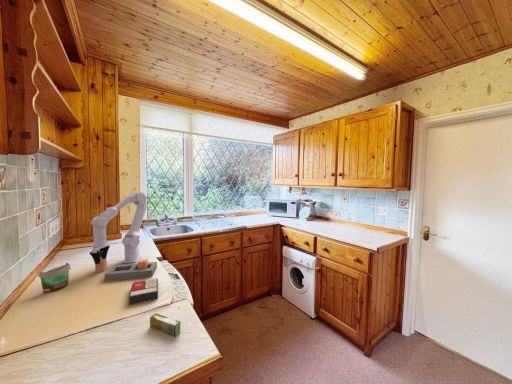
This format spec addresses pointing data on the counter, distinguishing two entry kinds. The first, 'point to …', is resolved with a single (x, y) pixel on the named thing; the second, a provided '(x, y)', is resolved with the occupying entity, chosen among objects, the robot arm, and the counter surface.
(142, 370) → the counter surface
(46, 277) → the food container
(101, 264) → the plug
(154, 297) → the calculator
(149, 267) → the dock
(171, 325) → the medication box
